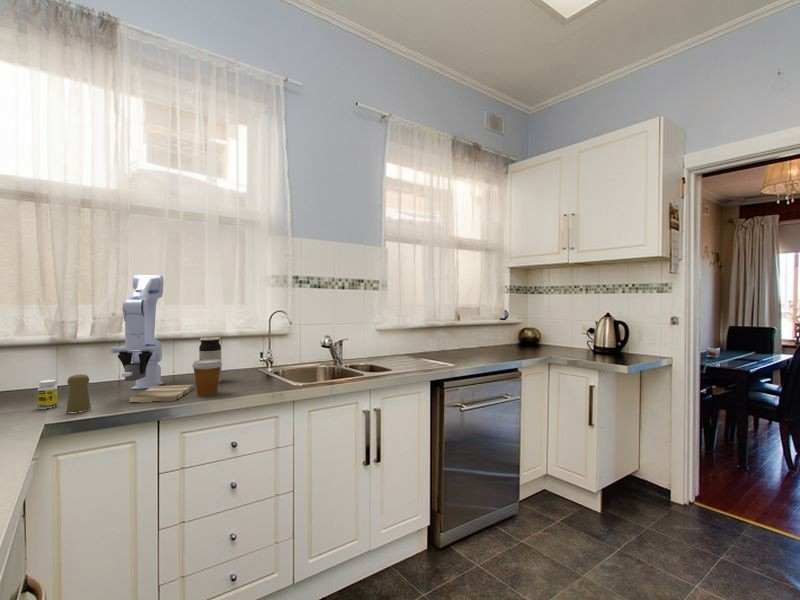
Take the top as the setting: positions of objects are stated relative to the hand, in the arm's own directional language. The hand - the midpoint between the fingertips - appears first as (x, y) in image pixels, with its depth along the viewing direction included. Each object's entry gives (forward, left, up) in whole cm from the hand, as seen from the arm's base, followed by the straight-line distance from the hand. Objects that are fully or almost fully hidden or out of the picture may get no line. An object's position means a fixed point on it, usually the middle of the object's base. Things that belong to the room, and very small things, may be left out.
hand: (135, 373), depth 138 cm
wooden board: (-2, +8, -8) cm, 12 cm away
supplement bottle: (+8, -22, -9) cm, 25 cm away
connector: (+1, 0, -2) cm, 2 cm away
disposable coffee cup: (0, +23, -9) cm, 25 cm away
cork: (+14, -10, -9) cm, 19 cm away
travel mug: (-22, +18, -9) cm, 30 cm away
